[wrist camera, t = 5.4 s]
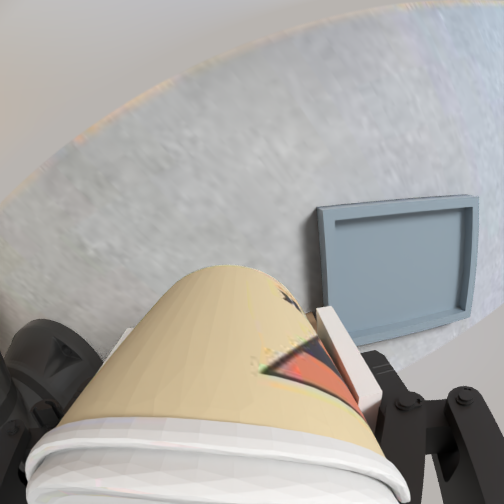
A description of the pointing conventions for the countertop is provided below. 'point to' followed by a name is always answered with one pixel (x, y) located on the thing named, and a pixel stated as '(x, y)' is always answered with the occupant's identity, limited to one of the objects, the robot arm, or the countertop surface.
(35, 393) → the robot arm
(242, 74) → the countertop surface
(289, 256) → the countertop surface
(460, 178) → the countertop surface
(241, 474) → the coffee cup
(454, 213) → the collection tray
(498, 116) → the countertop surface
